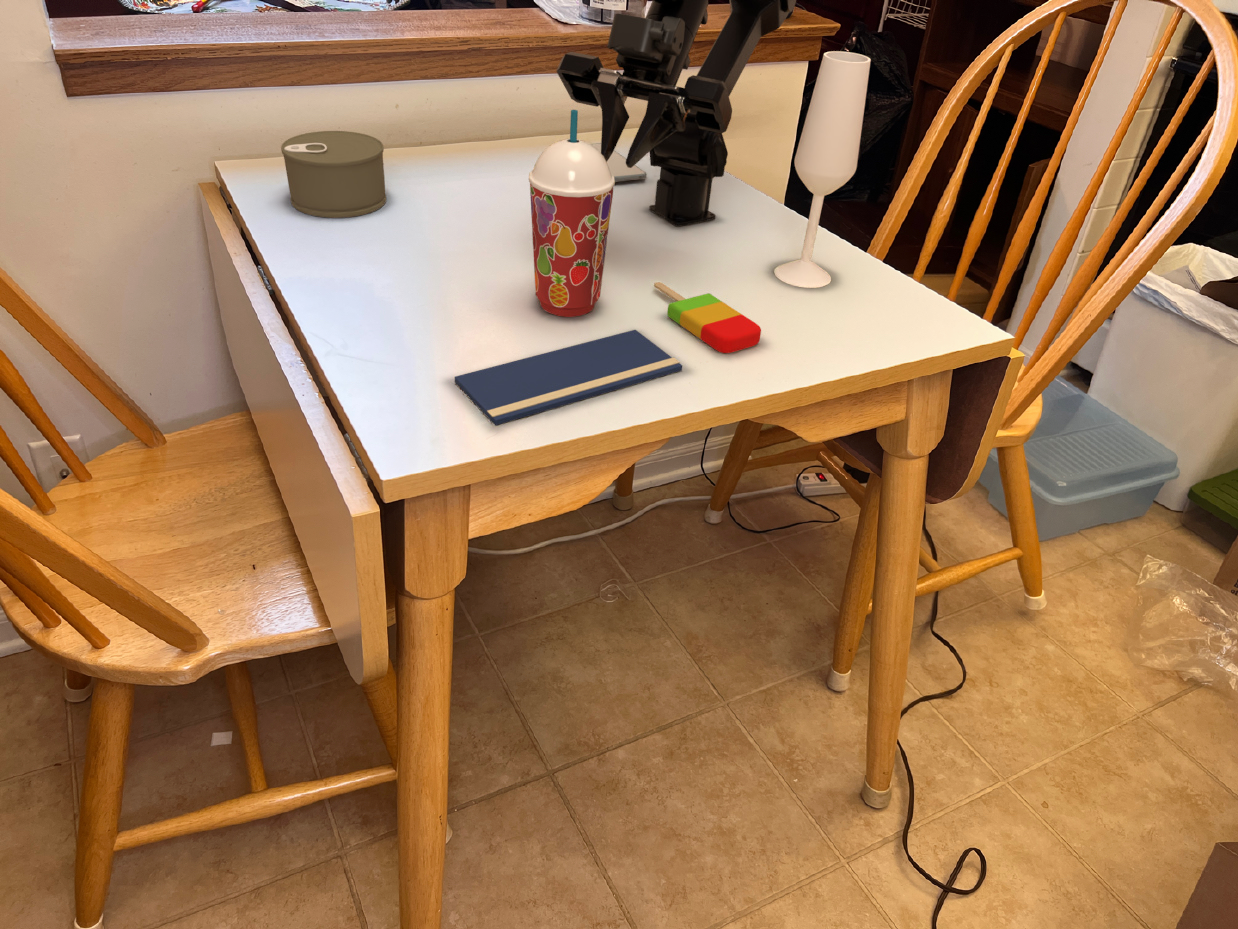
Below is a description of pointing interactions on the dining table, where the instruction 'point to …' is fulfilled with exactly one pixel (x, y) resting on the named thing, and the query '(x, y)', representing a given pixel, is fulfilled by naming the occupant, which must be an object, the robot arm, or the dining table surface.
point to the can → (335, 173)
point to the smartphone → (622, 167)
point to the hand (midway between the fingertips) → (615, 162)
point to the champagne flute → (828, 149)
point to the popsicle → (712, 321)
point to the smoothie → (570, 224)
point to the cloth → (565, 376)
